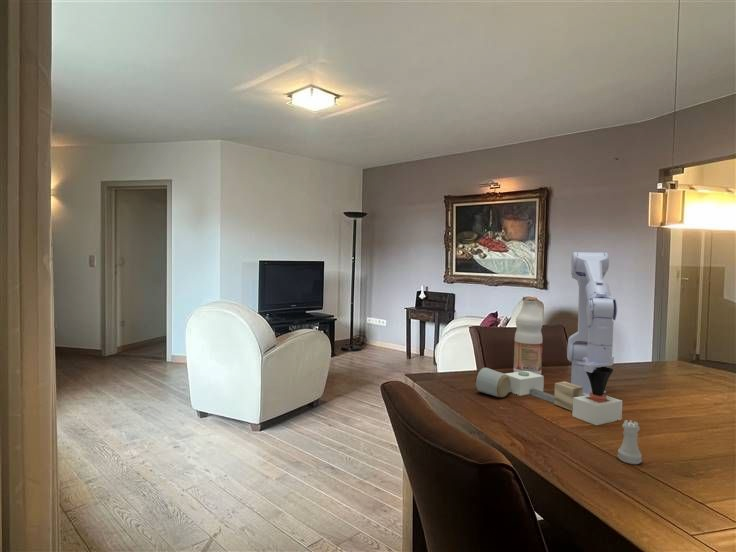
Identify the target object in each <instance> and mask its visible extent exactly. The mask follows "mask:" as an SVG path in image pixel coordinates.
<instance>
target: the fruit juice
mask: <svg viewBox="0 0 736 552" xmlns="http://www.w3.org/2000/svg"><path fill="white" fill-rule="evenodd" d="M537 303H538V297H536V296H523V297H522V307H521V310H520V311H519V313H518V314H517V316H516V318H515V325H516V326H515V327H516V330H515V333H514V348H513V349H514V351H513V354H514V355H513V372H521V371H529V372H533V373H536V374H539V375H542V363H543V361H542V360H543V334H542V328H543V326H544V325H543V324H544V323H543V321H544V320H543V318H542V317H541V315H540V313H539V310H538V306H537Z"/></svg>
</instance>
